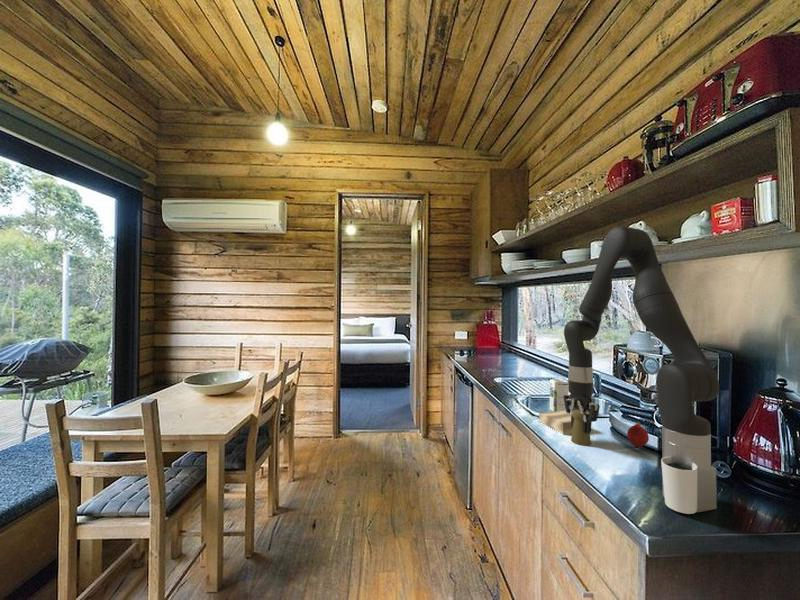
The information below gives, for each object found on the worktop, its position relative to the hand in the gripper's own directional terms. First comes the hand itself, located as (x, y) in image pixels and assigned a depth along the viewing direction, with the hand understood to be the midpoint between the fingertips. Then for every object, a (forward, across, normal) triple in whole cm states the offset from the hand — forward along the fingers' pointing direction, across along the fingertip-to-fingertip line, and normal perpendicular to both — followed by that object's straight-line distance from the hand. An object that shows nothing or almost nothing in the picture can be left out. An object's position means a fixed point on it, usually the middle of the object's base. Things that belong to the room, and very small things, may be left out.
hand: (580, 429), depth 118 cm
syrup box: (+4, +28, -14) cm, 32 cm away
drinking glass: (+5, -37, +5) cm, 37 cm away
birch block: (+5, +13, -4) cm, 14 cm away
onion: (+4, -8, -15) cm, 18 cm away
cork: (+4, 0, 0) cm, 4 cm away
